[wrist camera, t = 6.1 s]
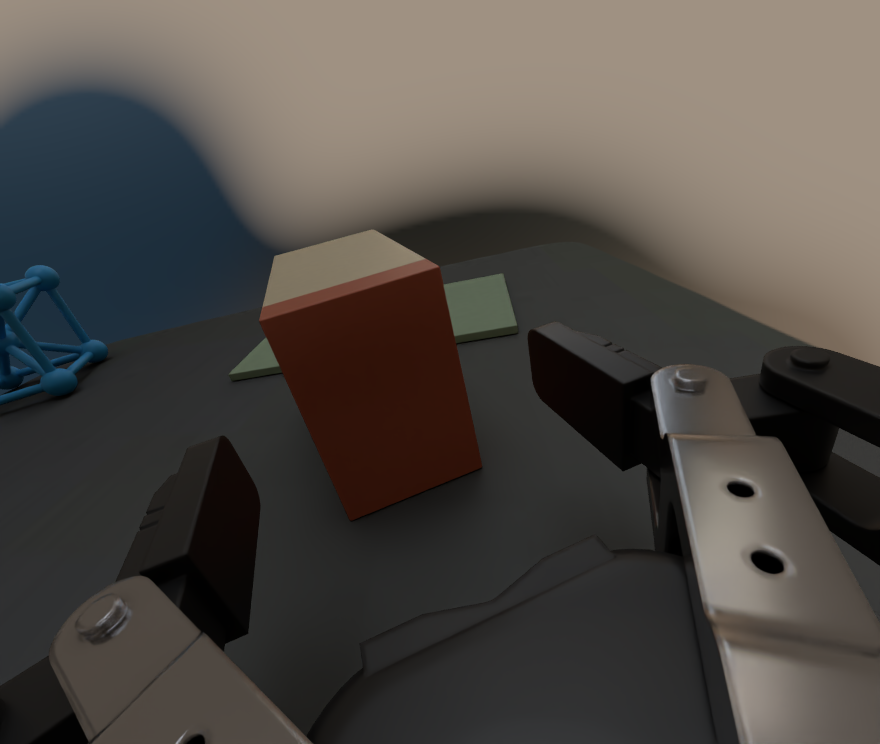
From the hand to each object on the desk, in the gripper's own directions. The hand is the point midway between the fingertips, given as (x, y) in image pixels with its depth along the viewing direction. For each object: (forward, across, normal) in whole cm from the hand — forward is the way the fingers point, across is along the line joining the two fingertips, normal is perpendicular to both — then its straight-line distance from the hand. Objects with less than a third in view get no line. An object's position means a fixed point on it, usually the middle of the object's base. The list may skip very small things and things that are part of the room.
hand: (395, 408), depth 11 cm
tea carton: (+9, 0, +2) cm, 9 cm away
